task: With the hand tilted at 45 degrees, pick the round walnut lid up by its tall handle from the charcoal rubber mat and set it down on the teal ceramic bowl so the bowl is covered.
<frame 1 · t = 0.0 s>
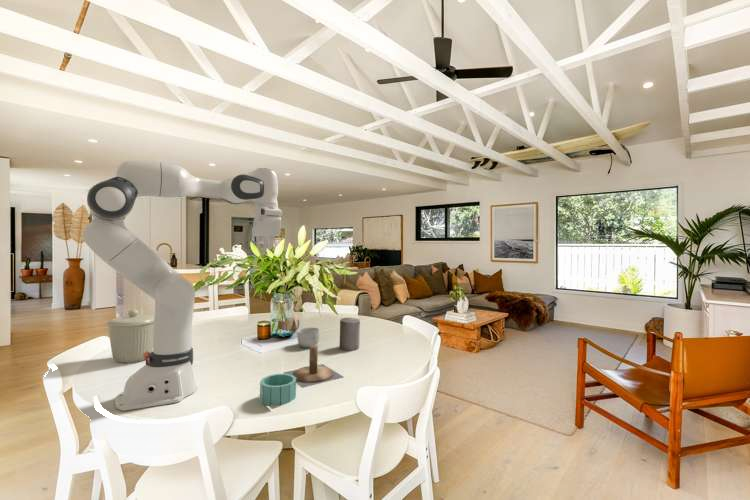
hand: (265, 248, 134), 48 cm above the table, tool pointing down, fingers open, 8 cm apart
teacup: (309, 345, 174), on the table
bowl: (278, 398, 114), on the table
canister: (133, 359, 148), on the table
ornament: (284, 336, 188), on the table
mat: (313, 376, 133), on the table
pillar candle: (349, 348, 170), on the table
lid: (313, 374, 133), resting on mat
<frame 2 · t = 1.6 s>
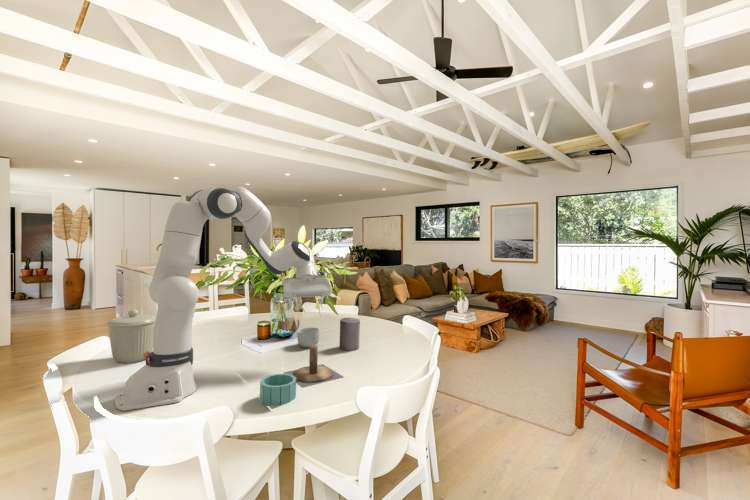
hand: (309, 303, 145), 25 cm above the table, tool tilted 45°, fingers open, 8 cm apart
nothing on the table moved.
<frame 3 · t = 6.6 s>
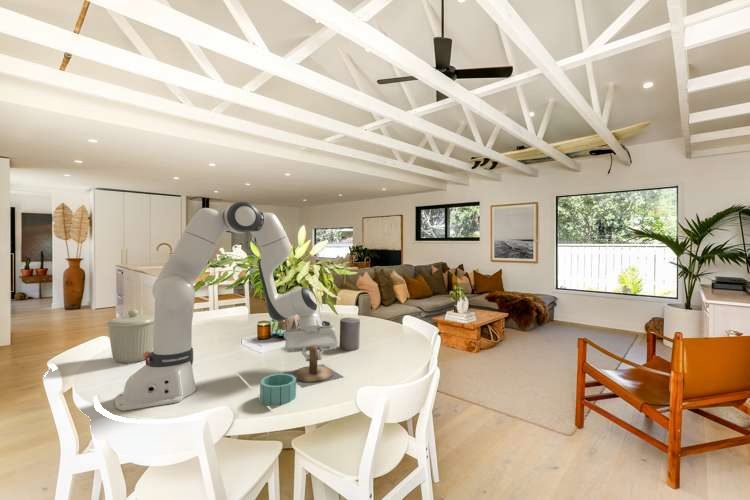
hand: (313, 359, 133), 6 cm above the table, tool tilted 45°, fingers closed on lid, 3 cm apart
lid: (313, 374, 133), resting on mat, touching gripper
everything else where it was.
when the fingers open (13 cm above the table, at t = 13.5 s): lid drops 1 cm, resting on bowl.
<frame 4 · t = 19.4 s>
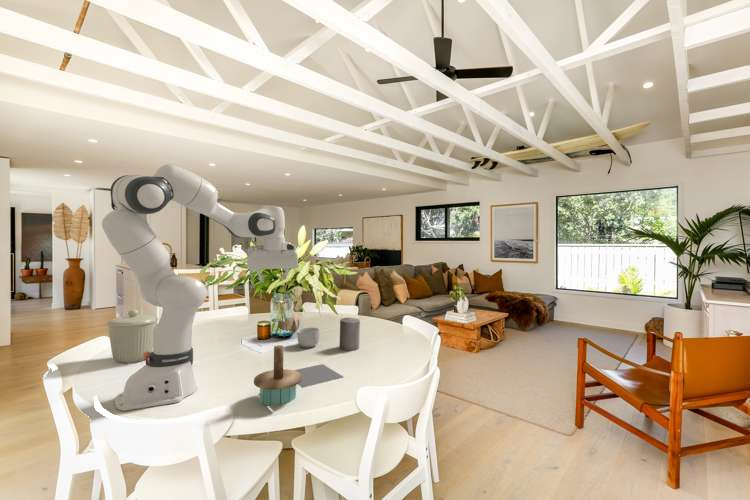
hand: (273, 279, 143), 35 cm above the table, tool pointing down, fingers open, 8 cm apart
lid: (278, 380, 114), point 6 cm above the table, touching bowl
everything else where it was.
at the end: lid 0.1 cm off-centre on the bowl, point 6.0 cm above the bowl's base; lid tilted 0°; the gripper is holding nothing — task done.
